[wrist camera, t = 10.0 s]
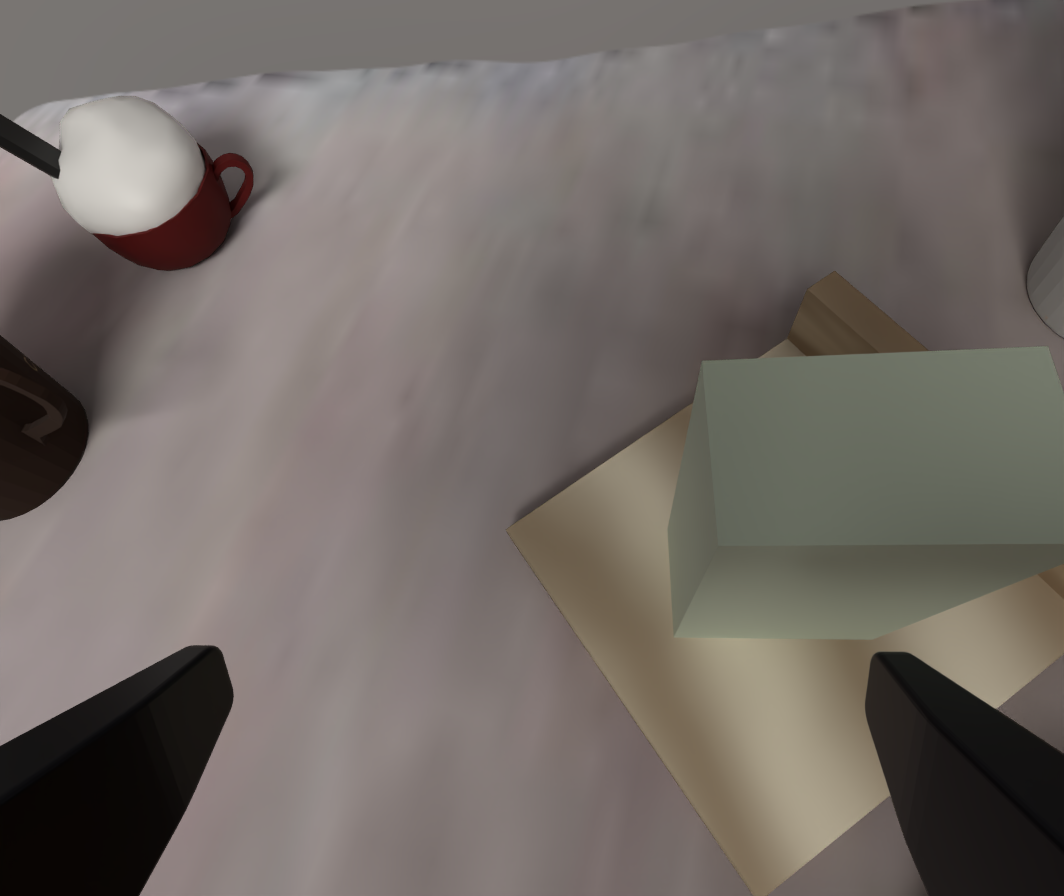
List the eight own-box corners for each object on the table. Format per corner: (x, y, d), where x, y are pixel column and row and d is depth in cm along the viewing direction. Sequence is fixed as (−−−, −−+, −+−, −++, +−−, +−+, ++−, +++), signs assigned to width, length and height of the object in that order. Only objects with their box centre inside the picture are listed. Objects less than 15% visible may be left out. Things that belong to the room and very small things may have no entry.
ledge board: (752, 893, 19) (782, 931, 15) (510, 537, 24) (489, 501, 20) (1101, 611, 21) (1203, 584, 17) (805, 336, 26) (834, 270, 22)
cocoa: (284, 195, 33) (139, -77, 23) (252, 292, 31) (69, 38, 20) (112, 196, 34) (-105, -64, 24) (66, 290, 32) (-203, 47, 21)
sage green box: (872, 639, 20) (1115, 543, 10) (673, 637, 21) (718, 546, 11) (851, 524, 22) (1046, 341, 12) (667, 525, 22) (701, 356, 12)
